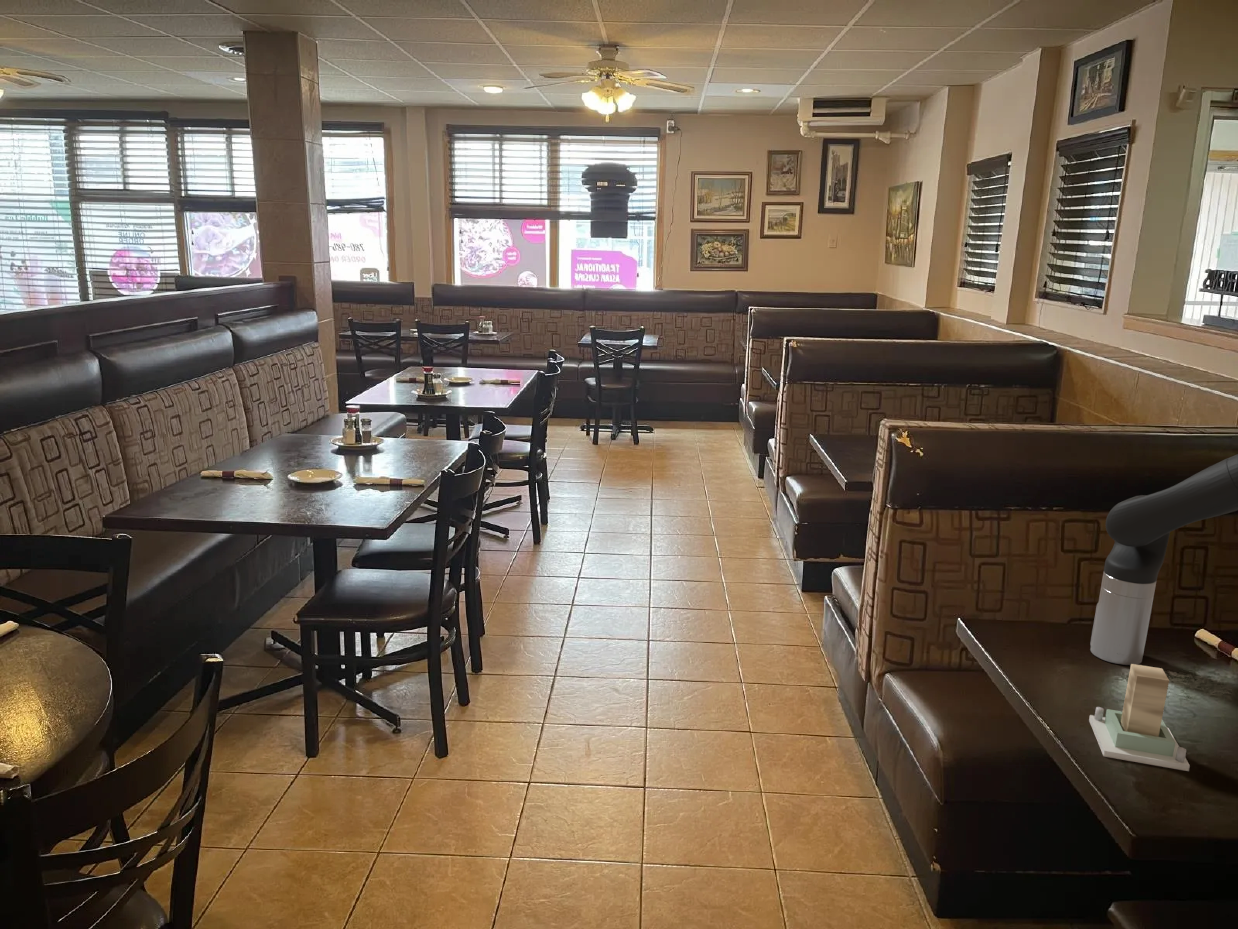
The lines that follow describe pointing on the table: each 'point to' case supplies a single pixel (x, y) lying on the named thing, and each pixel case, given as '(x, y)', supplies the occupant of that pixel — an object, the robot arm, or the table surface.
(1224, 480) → the robot arm
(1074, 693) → the table surface
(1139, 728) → the maple block
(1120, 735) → the socket plate
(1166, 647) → the table surface
